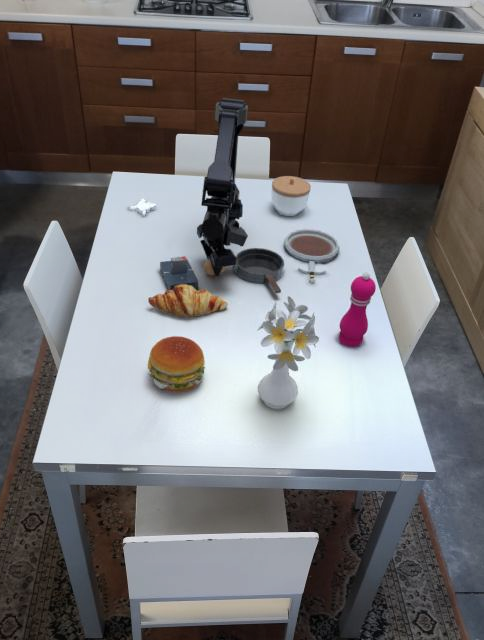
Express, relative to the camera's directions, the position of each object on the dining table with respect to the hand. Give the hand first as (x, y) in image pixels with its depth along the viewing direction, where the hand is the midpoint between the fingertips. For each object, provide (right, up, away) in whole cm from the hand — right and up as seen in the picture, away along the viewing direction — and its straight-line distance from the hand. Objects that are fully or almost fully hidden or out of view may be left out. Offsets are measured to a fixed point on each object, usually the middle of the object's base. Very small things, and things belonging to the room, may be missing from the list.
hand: (214, 271), depth 183 cm
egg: (0, 0, 0) cm, 0 cm away
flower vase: (+16, -40, -33) cm, 54 cm away
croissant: (-7, -13, -11) cm, 18 cm away
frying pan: (+29, +7, +11) cm, 32 cm away
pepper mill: (+36, -22, -15) cm, 45 cm away
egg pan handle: (+16, -5, -4) cm, 17 cm away
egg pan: (+13, +1, +5) cm, 14 cm away
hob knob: (-10, -1, -4) cm, 11 cm away
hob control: (-10, -3, -1) cm, 11 cm away
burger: (-8, -34, -30) cm, 46 cm away
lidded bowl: (+24, +29, +31) cm, 48 cm away
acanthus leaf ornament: (-24, +27, +26) cm, 45 cm away
